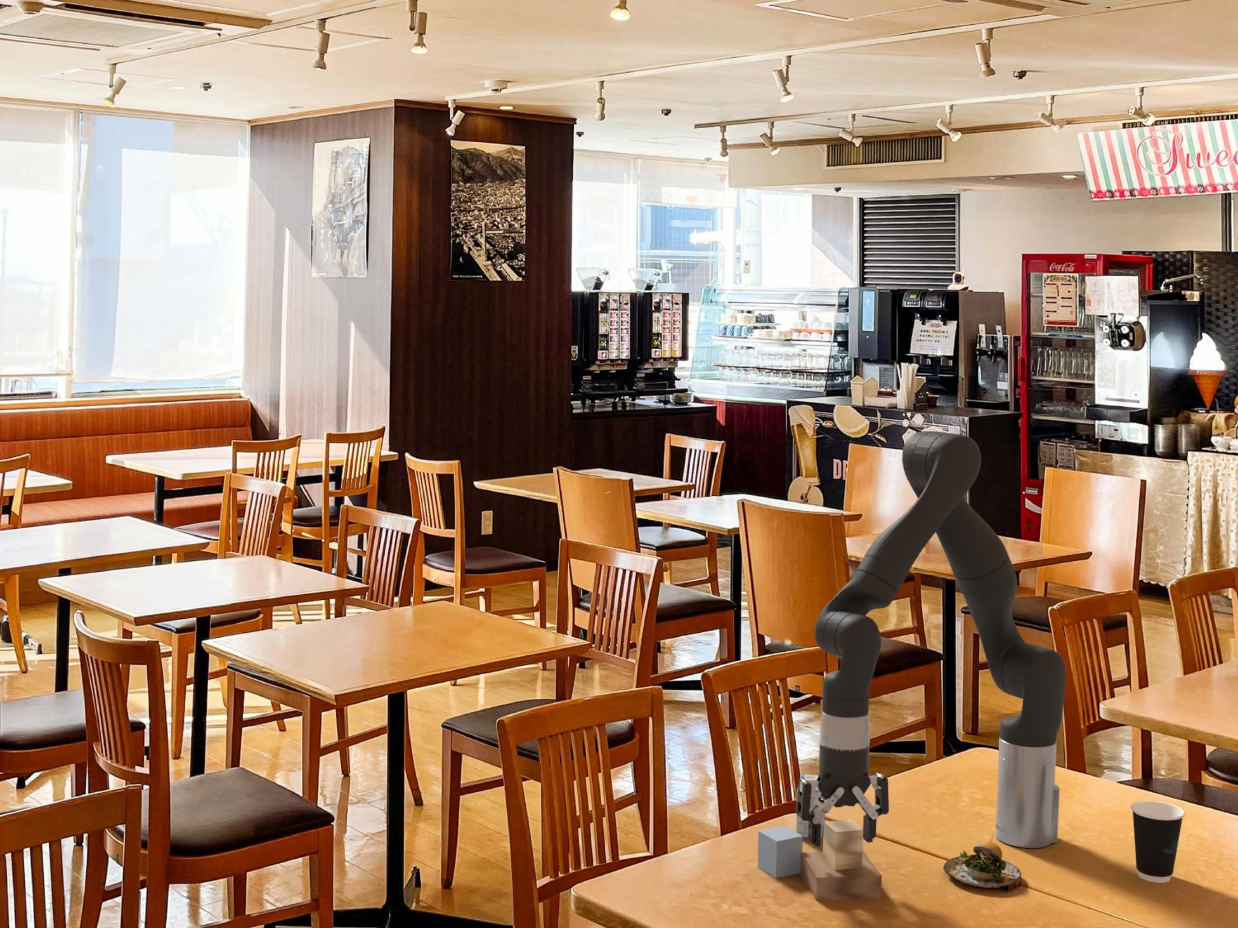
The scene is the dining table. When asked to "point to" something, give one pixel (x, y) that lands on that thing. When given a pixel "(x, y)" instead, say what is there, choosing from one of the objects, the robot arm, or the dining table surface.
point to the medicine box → (803, 825)
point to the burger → (984, 868)
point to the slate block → (779, 851)
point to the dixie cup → (1156, 839)
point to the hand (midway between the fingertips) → (841, 842)
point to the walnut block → (840, 879)
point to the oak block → (842, 844)
